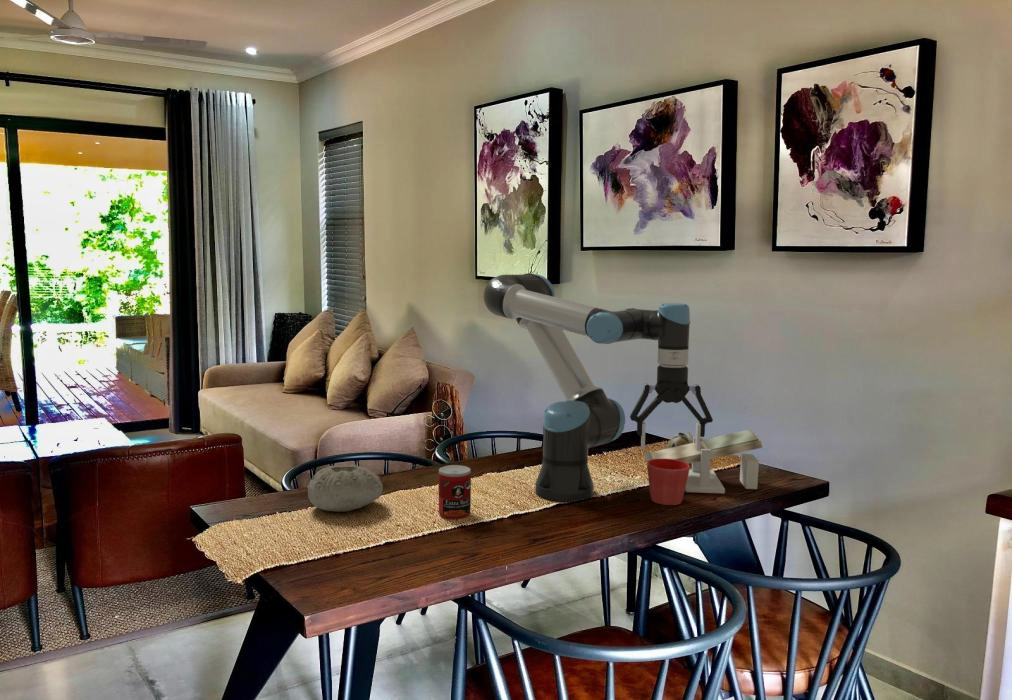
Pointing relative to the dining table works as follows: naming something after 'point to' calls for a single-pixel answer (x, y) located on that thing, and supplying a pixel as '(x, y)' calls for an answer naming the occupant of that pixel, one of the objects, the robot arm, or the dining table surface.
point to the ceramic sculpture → (679, 440)
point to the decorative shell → (344, 488)
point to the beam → (710, 447)
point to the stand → (708, 481)
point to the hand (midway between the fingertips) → (670, 448)
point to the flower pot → (667, 480)
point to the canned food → (454, 491)
